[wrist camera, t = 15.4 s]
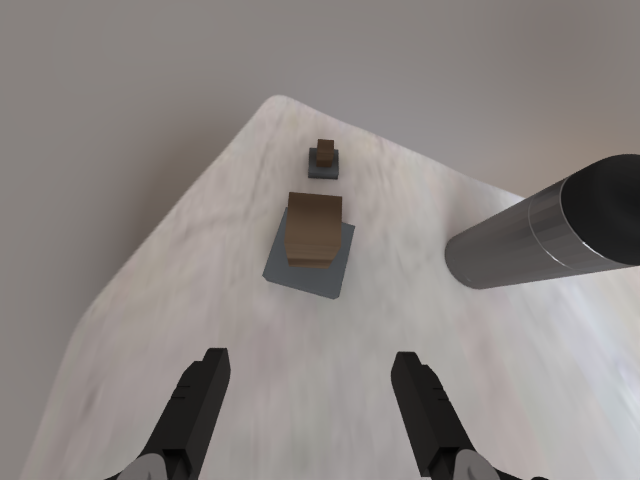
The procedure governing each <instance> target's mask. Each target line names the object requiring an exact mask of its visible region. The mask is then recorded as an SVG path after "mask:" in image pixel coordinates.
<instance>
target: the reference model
mask: <svg viewBox="0 0 640 480" xmlns="http://www.w3.org/2000/svg"><path fill="white" fill-rule="evenodd" d="M338 175H339V166H338V150H335V149H334V140H323V139H318V145H317V148H310V150H309V174H308V178H322V179H337V178H338Z"/></svg>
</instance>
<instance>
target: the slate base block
mask: <svg viewBox="0 0 640 480" xmlns="http://www.w3.org/2000/svg"><path fill="white" fill-rule="evenodd" d="M287 210H288V207H286V209H285V212H284V215H283V218H282V221H281V223H280V226H279V229H278V232H277V235H276V238H275V241H274V243H273V246H272V249H271V252H270V255H269V258H268V261H267V263H266V266H265V269H264V272H263V275H262V276H263V277H264V278H265V279H266V280H267V281H269V282H273V283H276V284H280V285H284V286H287V287H291V288H294V289H298V290H302V291H305V292H309V293H312V294H316V295H320V296H323V297H327V298H330V299H336V298H338V297H339V294H340V290H341V285H342V281H343V277H344V272H345V268H346V264H347V259H348V255H349V251H350V246H351V242H352V237H353V233H354V229H355V226H353V225H350V224H346V223H343V222H342V224H341V248H340V249H339V251H338V253H337V254H336V256H335V258H334V259H333V261H332V263H331V264H330V266H329V268H328V269H321V268H306V267H291V266H289V264H288V259H287V254H286V249H285V245H284V239H285V229H286V220H287Z"/></svg>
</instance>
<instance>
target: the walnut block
mask: <svg viewBox="0 0 640 480" xmlns="http://www.w3.org/2000/svg"><path fill="white" fill-rule="evenodd" d="M341 224H342V197H341V196H329V195H318V194H306V193H295V192H289V200H288V210H287V220H286V229H285V239H284V245H285V249H286V254H287V259H288V264H289V266H291V267H306V268H321V269H328V268H329V266H330V264H331V263H332V261H333V259H334V258H335V256H336V254H337V253H338V251H339V249H340V248H341Z"/></svg>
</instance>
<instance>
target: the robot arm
mask: <svg viewBox="0 0 640 480" xmlns="http://www.w3.org/2000/svg"><path fill="white" fill-rule="evenodd" d="M445 258H446V263H447V266H448V268H449V270H450V272H451V273H452V274H453V276H454V277H455V278H456V279H457V280H458V281H459V282H461V283H462V284H464V285H466V286H467V287H470V288H473V289H487V288H494V287H500V286H508V285H515V284H521V283H528V282H535V281H542V280H548V279H555V278H562V277H569V276H575V275H582V274H589V273H595V272H601V271H608V270H615V269H621V268H628V267H635V266H640V155H636V154H622V155H616V156H611V157H608V158H605V159H602V160H600V161H598V162H595V163H593V164H591V165H589V166H587V167H585V168H584V169H582V170H580V171H578V172H576V173H574V174H572V175H571V176H569V177H566V178H565V179H563V180H561V181H559V182H557V183H555V184H553V185H551V186H549V187H547V188H545V189H544V190H542V191H540V192H538V193H536V194H534V195H532V196H531V197H529V198H527V199H525V200H523V201H521V202H519V203H517V204H515V205H513V206H511V207H509V208H508V209H506V210H504V211H502V212H500V213H498V214H496V215H494V216H492V217H490V218H488V219H487V220H485V221H483V222H481V223H479V224H477V225H475V226H473V227H471V228H469V229H467V230H465V231H463V232H462V233H460V234H458V235H456V236H454V237H453V238H452V239H451V240H450V241H449V243H448V244H447V247H446V250H445ZM230 372H231V369H230V362H229V356H228V350H227V348H209V349H208V350H207V352H206V354H205V356H204V358H203V360H202V361H194V362H193V363H192V364H191V365H190V366H189V367H188V368H187V369H186V370H185V371H184V373H183V374H182V376H181V378H180V380H179V382H178V384H177V387H176V389H175V390H174V392H173V394H172V396H171V399H170V400H169V401H168V403H167V405H166V407H165V409H164V411H163V413H162V415H161V417H160V419H159V421H158V423H157V425H156V427H155V428H154V430H153V432H152V434H151V436H150V438H149V440H148V442H147V444H146V446H145V447H144V449H143V450H142V452H141V453H140V455H139V456H138V457H137V458H136V459H135V460H134V461H133V462H132V463H130V464H129V465H128V466H127V467H126V468H125V469H124V470H123V471H121V472H120V473H118V474H116V475H114V476H112V477H110V478H107V479H105V480H198V477H199V474H200V471H201V468H202V465H203V462H204V459H205V455H206V452H207V449H208V446H209V443H210V440H211V437H212V434H213V430H214V427H215V424H216V421H217V418H218V415H219V412H220V409H221V405H222V402H223V399H224V396H225V393H226V390H227V387H228V384H229V379H230ZM391 382H392V386H393V389H394V393H395V396H396V399H397V402H398V405H399V408H400V412H401V415H402V418H403V421H404V424H405V428H406V431H407V434H408V437H409V440H410V443H411V447H412V450H413V453H414V456H415V459H416V462H417V466H418V469H419V472H420V475H421V477H431V479H432V480H522V479H519V478H517V477H514V476H512V475H509V474H507V473H504V472H502V471H499V470H497V469H496V468H494V467H492V465H491V464H490V463H489V462H488V461H487V460H486V459H485V458H484V457H483V456H481V455H480V454H478V452H477V451H476V450H475V448H474V447H473V445H472V443H471V441H470V439H469V438H468V436H467V434H466V432H465V430H464V428H463V426H462V424H461V422H460V420H459V418H458V416H457V414H456V412H455V410H454V408H453V406H452V404H451V402H450V401H449V398H448V396H447V394H446V392H445V391H444V390H443V386H442V384H441V382H440V380H439V379H438V377H437V375H436V374H435V373H434V372H433V371H432V369H431V368H430V367H429V366H428V365H422V364H421V362H420V360H419V358H418V356H417V354H416V353H415V352H397V355H396V358H395V361H394V364H393V367H392V370H391ZM531 480H548V479H546V478H543V477H534V478H532V479H531Z"/></svg>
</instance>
